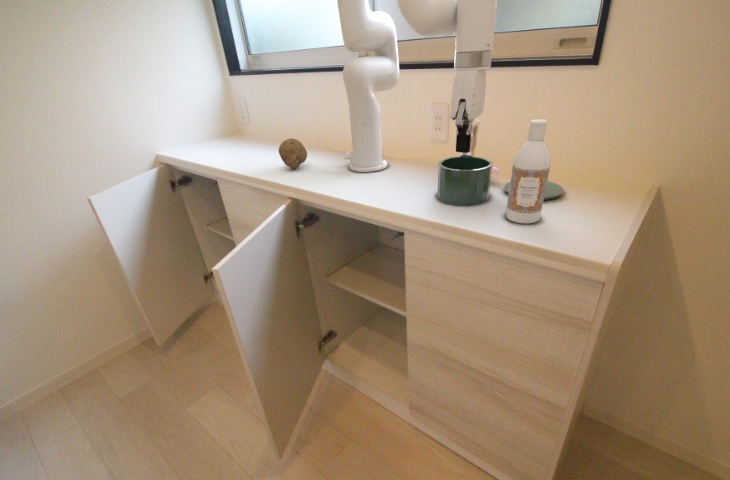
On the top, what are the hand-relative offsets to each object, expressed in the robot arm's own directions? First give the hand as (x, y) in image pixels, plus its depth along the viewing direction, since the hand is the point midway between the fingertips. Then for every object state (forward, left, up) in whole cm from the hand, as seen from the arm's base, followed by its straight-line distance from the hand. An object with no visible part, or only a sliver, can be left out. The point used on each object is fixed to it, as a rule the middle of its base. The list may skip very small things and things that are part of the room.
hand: (465, 148), depth 86 cm
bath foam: (+16, -8, -12) cm, 22 cm away
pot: (0, 0, -12) cm, 12 cm away
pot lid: (+15, +9, -11) cm, 21 cm away
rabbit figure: (-2, +15, -12) cm, 19 cm away
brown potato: (-60, +5, -12) cm, 61 cm away
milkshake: (0, 0, -2) cm, 2 cm away
